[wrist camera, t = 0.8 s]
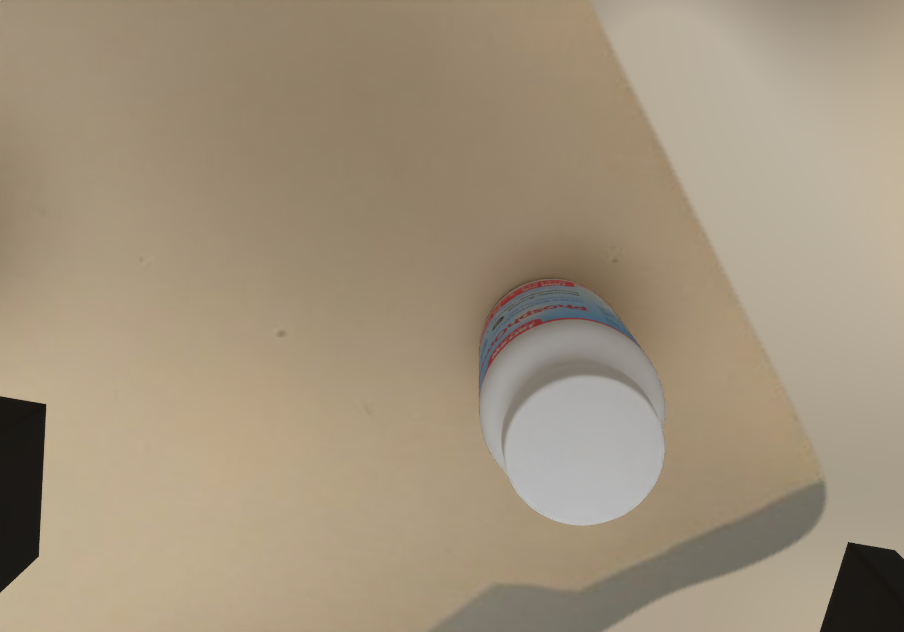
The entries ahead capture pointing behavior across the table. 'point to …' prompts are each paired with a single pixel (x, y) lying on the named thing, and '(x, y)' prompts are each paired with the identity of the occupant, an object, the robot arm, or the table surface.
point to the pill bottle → (569, 403)
